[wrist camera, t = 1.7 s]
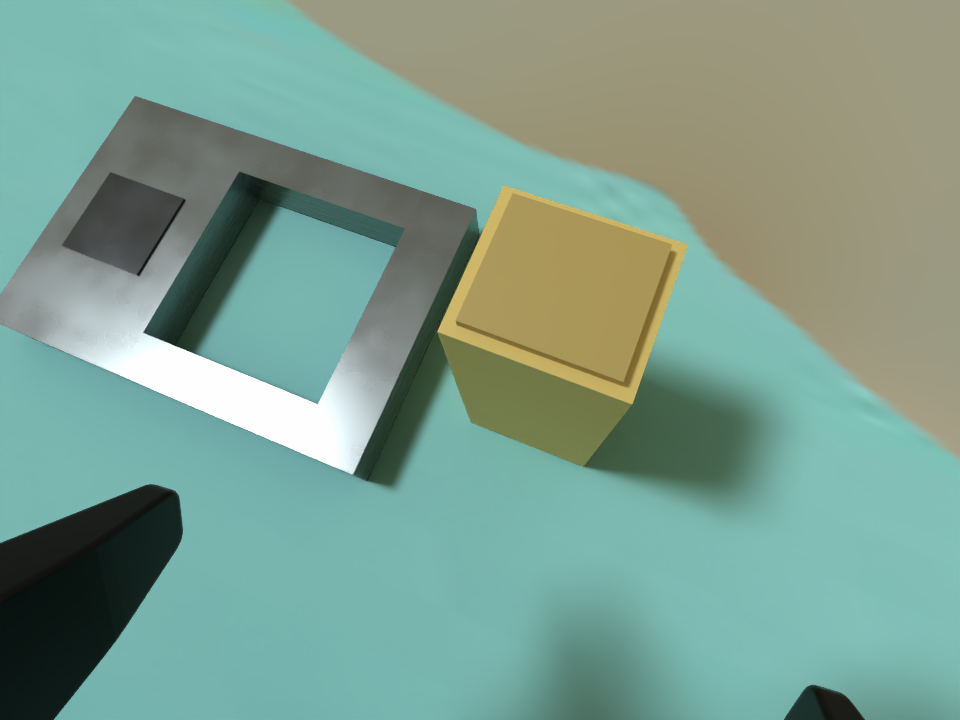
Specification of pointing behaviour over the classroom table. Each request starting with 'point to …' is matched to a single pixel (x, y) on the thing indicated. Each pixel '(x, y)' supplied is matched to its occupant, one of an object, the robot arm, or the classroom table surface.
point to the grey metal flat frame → (200, 252)
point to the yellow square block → (556, 322)
